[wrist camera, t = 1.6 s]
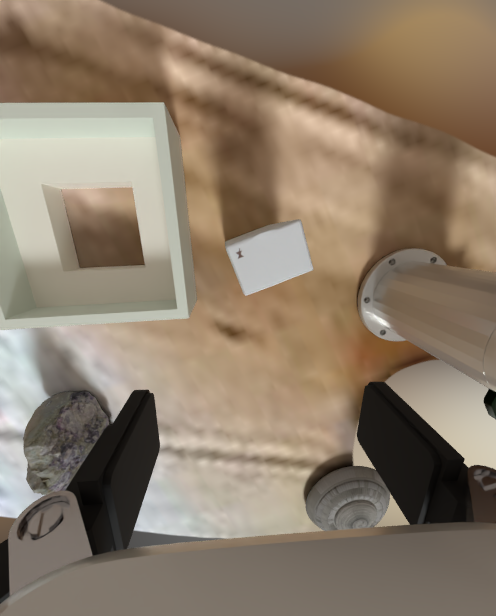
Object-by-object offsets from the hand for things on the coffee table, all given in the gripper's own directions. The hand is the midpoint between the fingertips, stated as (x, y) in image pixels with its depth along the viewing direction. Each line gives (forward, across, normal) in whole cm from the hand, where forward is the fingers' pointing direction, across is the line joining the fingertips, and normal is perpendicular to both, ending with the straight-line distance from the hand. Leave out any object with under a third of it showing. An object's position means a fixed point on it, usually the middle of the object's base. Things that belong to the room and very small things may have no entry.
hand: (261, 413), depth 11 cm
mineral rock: (+22, +22, +19) cm, 37 cm away
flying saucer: (+22, -19, +36) cm, 47 cm away
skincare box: (+22, -2, -6) cm, 23 cm away
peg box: (+22, +15, -8) cm, 27 cm away
